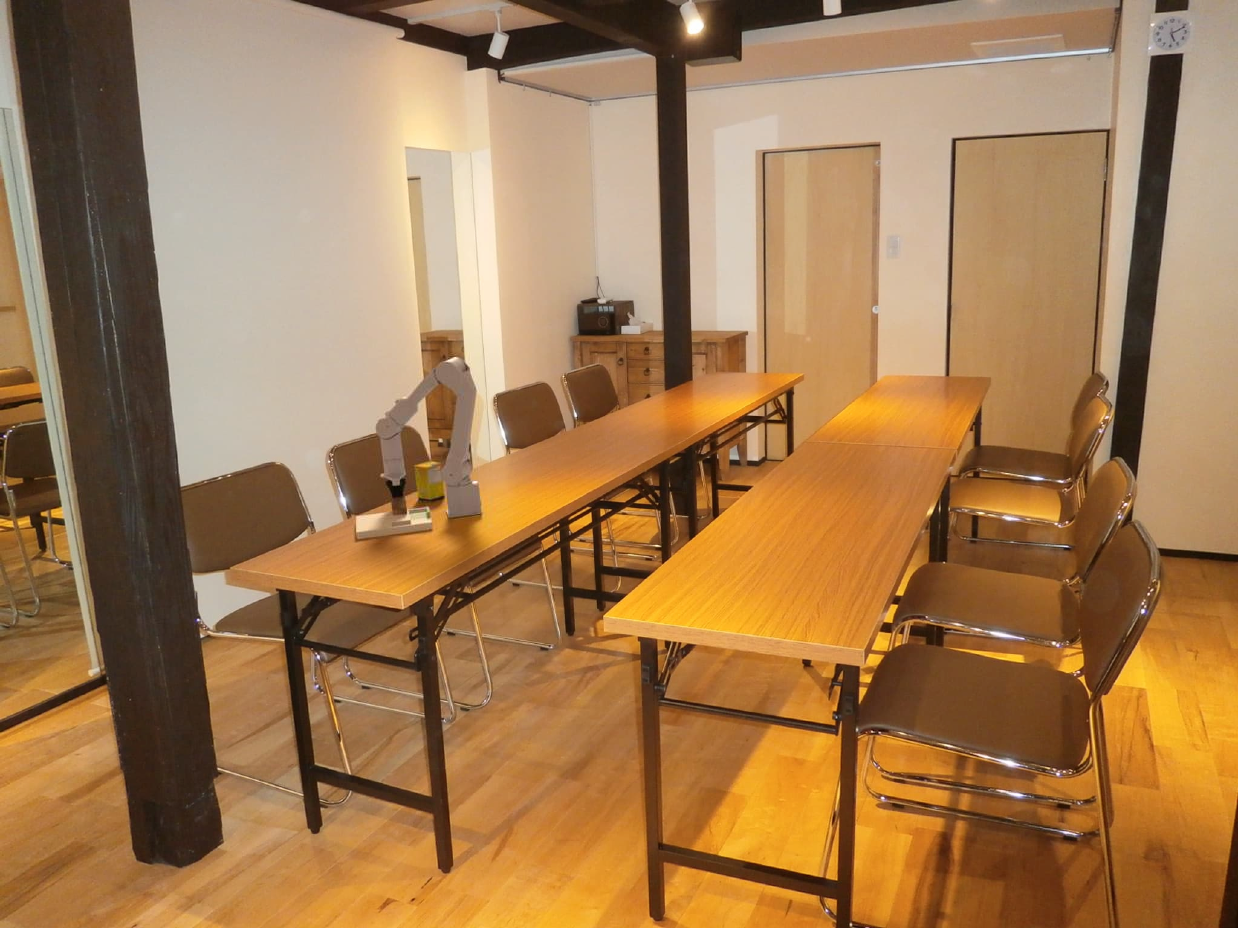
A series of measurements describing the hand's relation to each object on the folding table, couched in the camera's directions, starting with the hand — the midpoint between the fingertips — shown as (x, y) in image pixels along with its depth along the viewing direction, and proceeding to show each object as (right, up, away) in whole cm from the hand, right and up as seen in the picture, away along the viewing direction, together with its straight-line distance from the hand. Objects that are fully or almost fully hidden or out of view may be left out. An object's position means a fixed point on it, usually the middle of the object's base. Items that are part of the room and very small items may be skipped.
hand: (398, 504), depth 280 cm
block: (+2, -2, -5) cm, 6 cm away
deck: (+1, -6, -11) cm, 12 cm away
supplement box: (+6, +1, +16) cm, 17 cm away
